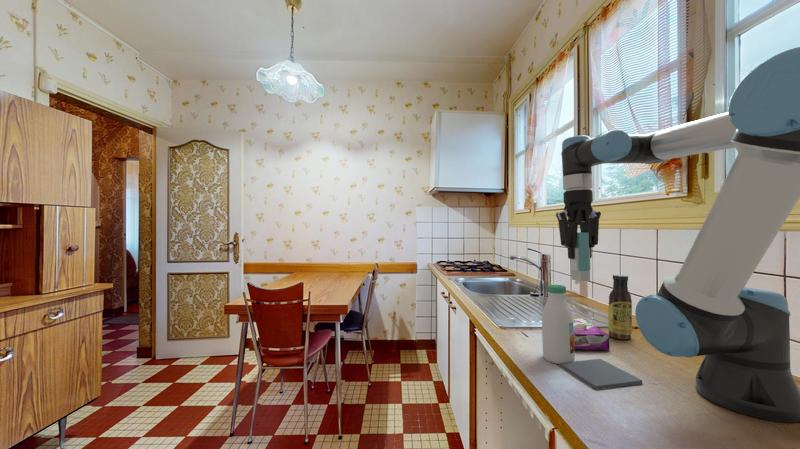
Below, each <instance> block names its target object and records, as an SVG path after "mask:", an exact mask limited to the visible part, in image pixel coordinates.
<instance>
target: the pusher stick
mask: <svg viewBox="0 0 800 449" xmlns="http://www.w3.org/2000/svg"><path fill="white" fill-rule="evenodd" d="M575 248H578V251H579V271H575V270H570V279H571V280H572V281H576V282H577V281H578V282H590V281H591V270H590V268H591V259H590V260H589V233H588V232H581V231H580V232H579V231H577V240H576V247H575Z"/></svg>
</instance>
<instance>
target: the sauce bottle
mask: <svg viewBox="0 0 800 449" xmlns="http://www.w3.org/2000/svg"><path fill="white" fill-rule="evenodd" d="M612 280H613V283H612V284H613V286H612V291H610V293H609V296H608V310H607V311H608V315H607V316H608V318H607V319H608V320H607V322H608V323H607V330H608V335H609V337H612V338H614V339H618V340H630V339H631V338H632V334H633V330H632V329H633V327H632V326H633V302H632V295H631V293H630V291H629V290H628V289H629V288H628V282H629V276H628V275H626V274H617V273H616V274H615V273H614V274H612Z"/></svg>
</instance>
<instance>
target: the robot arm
mask: <svg viewBox="0 0 800 449" xmlns="http://www.w3.org/2000/svg"><path fill="white" fill-rule="evenodd" d="M734 148H735V150H736V151H737V155H736V157H735V159H734V161H733V164H732V165H731V167H730V170H729V171H728V173H727V175H726V177H725V179H724V181H723V183H722V185H721V187H720V189H719V191H718V193H717V195H716V197H715V199H714V201H713V204H712V206H711V207H710V209H709V212H708V214H707V216H706V218H705V220H704V221H703V223H702V226H701V228H700V230H699V232H698V234H696V235H697V236H696V238H695V240H694V241H693V244H692V245H691V248H690V250H689V251H688V253H687V256H686V258H685V259H684V261H683V263H682V266H681V268H680V270H679V272H678V273H677V274H673V275H668V276H666V277H665V278H664V279H663V282H662V283H661V285H660V287H659V289H658V292H657V293H656V294H650V295H647V296H643V297H641V299H639V300H638V302H637V304H636V307H635V310H634V311H635V314H634V315H635V320H636V324H637V326H638V329H639V331H640V333H641V334H642V336H643V338H644V339H645V340H646V341H647V343H649V345H650V346H651V347H653V348H654V349H655V350H657V351H658V352H659V353H662V354H663V355H666V356H669V357H675V358H693V357H700V356H704V357H703V359H702V361H701V364H700V366H699V369H698V371H697V373H696V375H695V389H696V391H697V392H698V393H699V394H700V395H701V396H702V397H704V398H705V399H707V401H708V400H709V401H711V402H712V403H714V404H716V405H718V406H720V407H722V408H726V409H727V410H731V411H734V412H737V413H739V414H742V415H747V416H749V417H753V418H757V419H762V420H766V421H771V422H780V423H800V388H799V386H798V384H797V382H796V380H795V377H794V376H793V374H792V371H791V370H792V369H791V343H790V342H791V341H790V339H791V338H790V337H791V334H790V316H791V312H790V311H789V303H788V300H787V298H786V297H785V295H784V294H781V293H779V292H777V291H776V292H775V291H770V290H765V289H758V288H751V287H747V283H748V281H749V280H750V278H751V277H752V275H753V274H754V272H755V271H756V269H757V267H758V265H759V264H760V262H761V260H762V259H763V257H764V256H765V254H766V253H767V251H768V249H769V248H770V246H771V244H772V243H773V242H774V239H775V238H776V237H777V235H778V233H779V231H781V228H782V227H783V225H784V224H785V222H786V221H787V219H788V217H789V216H790V214H791V212H792V211H793V209H794V208H795V206H796V205H797V202H798V201H799V200H800V46H798V47H794V48H790V49H788V50H785V51H782V52H780V53H777V54H776V55H773V56H771V57H770V58H769V59H767V60H766V61H763V62H762V63H760V64H758V65H757V66H755V67H754V68H753V69H752V70H751V71H749V72H748V73H747V74H746V76H744V77H743V78H742V79H741V81H739V83H738V85H737V86H736V87H735V89H734V91H733V92H732V94H731V97H730V99H729V101H728V106H727V112H723V113H719V114H715V115H712V116H708V117H705V118H701V119H698V120H694V121H693V120H692V121H689V122H686V123H683V124H679V125H676V126H672V127H671V126H670V127H668V128H665V129H661V130H658V131H654V132H649V133H647V134H646V133H645V134H628V132H625V130H624V131H623V130H622V129H618V128H617V129H611V130H609V131H603V132H601V133H600V134H598V135H595V136H593V137H590V136H589V135H584V134H583V135H582V134H580V135H573V136H570V137H567V138H565V139H564V140H563V141H562V143H561V154H560V155H561V165H562V167H561V168H562V169H561V170H562V188H563V190H564V192H563V195H562V197H563V198H562V199H563V204H564V208H563V210H562V211H560V212H556V214H555V217H556V218H557V221H558V229H559V238H560V244H561V246H562V247H563V246H564V247H565V248H567V258H568V259H569V265H570V266H569V267H570V268H569V270H570V271H571V270H575V271H579V251H578V248H575V247H576V240H577V232H578V228H579V229H580V232H588V233H589V260H590V261H591V259H592V257H593V253H592V252H593V251H592V249H593V248H595V247H596V246H597V245H598V244H599V228H600V223H599V222H600V218H601V215H602V213H601V212H600V211H596V210H594V209H593V207H592V203H593V201H594V194H593V192H594V191H593V190H592V188H593V172H592V171H593V170H592V168H593V167H595V166H598V165H603V164H647V165H652V164H653V165H655V164H661V163H665V162H666V161H667V160H669V159H670V160H671V159H676V158H681V157H689V156H692V155H693V156H694V155H700V154H705V153H712V152H717V151H722V150H728V149H729V150H730V149H734ZM590 271H591V267H590Z"/></svg>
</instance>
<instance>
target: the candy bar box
mask: <svg viewBox="0 0 800 449" xmlns="http://www.w3.org/2000/svg"><path fill="white" fill-rule="evenodd" d="M573 325H574V351H586V352H587V351H592V352H593V351H595V352H596V351H601V352H604V351H606V352H609V351H611V350H610V335H609V333H606V332H605V331H603V330H602V329H600V328H598V327H597V326H595V325H594V324H593V323H591V322H589V321H588V320H586V319H585V318H583V317H579V318H578V317H573Z"/></svg>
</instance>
